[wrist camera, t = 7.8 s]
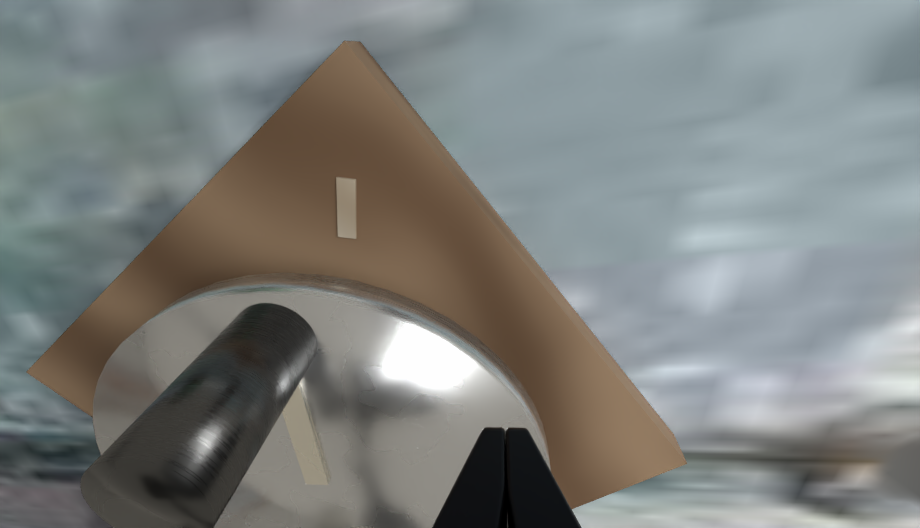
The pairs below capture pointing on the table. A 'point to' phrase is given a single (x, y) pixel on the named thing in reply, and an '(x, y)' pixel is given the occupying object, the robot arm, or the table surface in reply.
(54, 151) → the table surface
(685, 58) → the table surface
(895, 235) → the table surface
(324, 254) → the base plate
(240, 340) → the handwheel
